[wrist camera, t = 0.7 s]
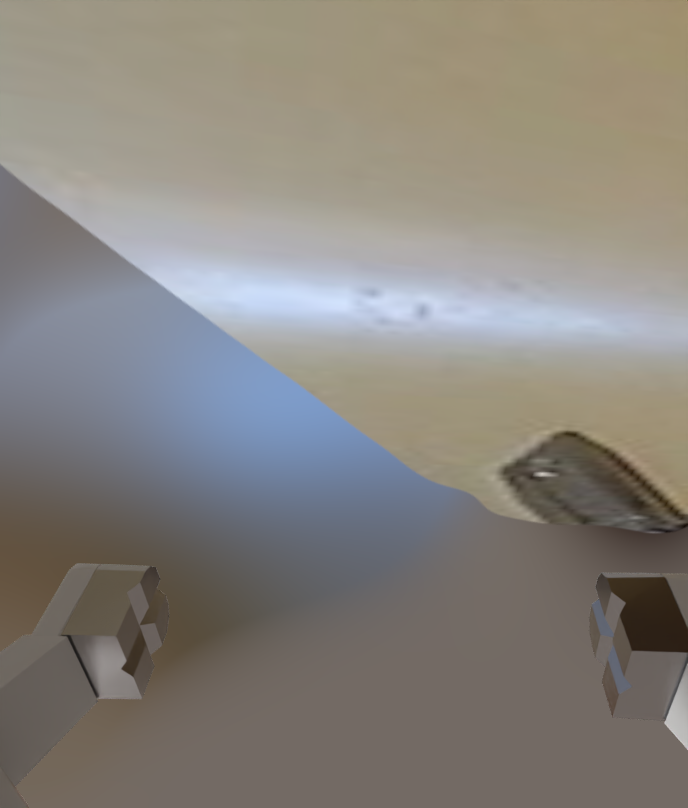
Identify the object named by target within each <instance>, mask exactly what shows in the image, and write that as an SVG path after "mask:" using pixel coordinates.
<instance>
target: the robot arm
mask: <svg viewBox="0 0 688 808" xmlns="http://www.w3.org/2000/svg"><path fill="white" fill-rule="evenodd" d="M159 581H160V577H159V574H158V572H157V569H156V567H152V566H134V565H110V564H79V563H77V564H76V565H74V567H72V568H71V569H70V570H69V571H68V573H67V575H66V576H65V578H64V580H63V581H62V583H61V585H60V587H59V588H58V590H57V592H56V593H55V595H54V597H53V599H52V600H51V602H50V604H49V606H48V607H47V609H46V611H45V613H44V614H43V616H42V618H41V619H40V621H39V623H38V625H37V626H36V628H35V630H34V631H33V633H32V635H23V636H22V637H20V638H19V639H18V640H16V641H15V642H13V643H12V644H11V645H9V646H8V647H7V648H5V649H4V650H3V651H1V652H0V808H29V806H28V804H27V803H26V801H25V800H24V798H23V797H22V796H21V794H20V793H19V791H18V790H17V788H16V787H15V786H16V785H17V784H18V783H19V782H20V781H21V780H22V779H23V778H24V777H25V776H26V775H27V774H28V773H29V772H30V771H31V770H32V769H33V768H34V767H35V766H36V765H37V763H39V762H40V761H41V759H43V757H44V756H45V755H46V754H47V753H48V752H49V751H50V750H51V749H52V748H53V747H54V746H55V745H56V744H57V743H58V742H59V741H60V740H61V739H62V738H63V737H64V736H65V735H66V734H67V733H68V732H69V731H70V729H72V728H73V726H74V725H75V724H76V723H77V722H78V721H79V720H80V719H81V718H82V717H83V716H84V715H85V714H86V713H87V712H88V711H89V710H90V709H91V708H92V707H93V706H94V705H95V704H96V703H97V702H98V700H97V699H99V698H100V699H142V698H143V695H144V693H145V690H146V687H147V685H148V682H149V679H150V677H151V674H152V671H153V669H154V664H153V661H152V658H151V654H152V653H154V652H155V651H156V650H157V649H158V648H159V647H160V646H162V644H163V641H164V638H165V636H166V633H167V628H168V620H169V607H168V601H167V598H166V595H165V594H163V593H162V592H161V591H160V590H158V589H157V586H158V584H159ZM596 591H597V594H598V597H599V599H598V600H597V601H595V602H594V603H593V604H592V605H591V611H590V617H589V628H590V638H591V644H592V648H593V652H594V655H595V658H596V659H597V660H598V661H599V662H600V663H601V664H602V665H603V666H604V667H605V671H604V675H603V679H602V684H603V687H604V690H605V694H606V697H607V701H608V704H609V708H610V711H611V714H612V717H613V718H628V719H643V720H659V721H665V723H664V724H666V726H667V727H668V728H669V729H670V730H671V731H672V732H673V734H674V735H675V736H676V737H677V738H678V739H679V740H680V741H681V743H682V744H683V745H684V746H685V747H686V748H687V749H688V574H658V573H601V574H600V575H599V577H598V579H597V583H596Z"/></svg>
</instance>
